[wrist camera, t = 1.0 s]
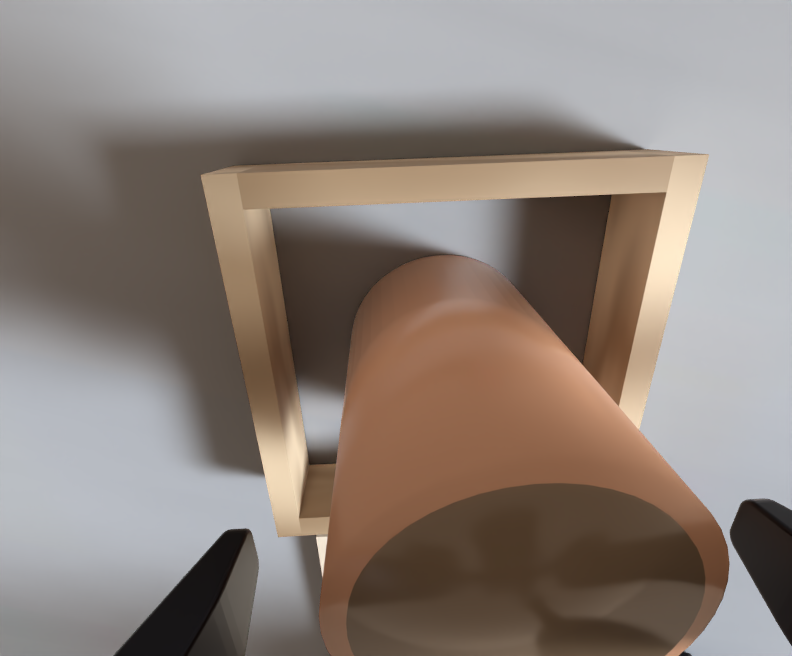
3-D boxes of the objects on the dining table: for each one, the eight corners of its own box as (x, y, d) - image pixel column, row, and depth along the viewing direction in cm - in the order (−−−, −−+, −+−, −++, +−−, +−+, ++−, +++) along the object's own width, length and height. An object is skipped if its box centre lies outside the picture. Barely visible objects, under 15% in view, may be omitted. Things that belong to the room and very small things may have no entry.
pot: (558, 360, 15) (778, 642, 7) (414, 440, 16) (453, 762, 8) (474, 216, 13) (649, 376, 5) (314, 321, 14) (226, 597, 6)
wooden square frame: (585, 465, 17) (616, 517, 15) (291, 481, 17) (278, 537, 15) (647, 149, 12) (709, 154, 10) (233, 165, 12) (200, 174, 10)
